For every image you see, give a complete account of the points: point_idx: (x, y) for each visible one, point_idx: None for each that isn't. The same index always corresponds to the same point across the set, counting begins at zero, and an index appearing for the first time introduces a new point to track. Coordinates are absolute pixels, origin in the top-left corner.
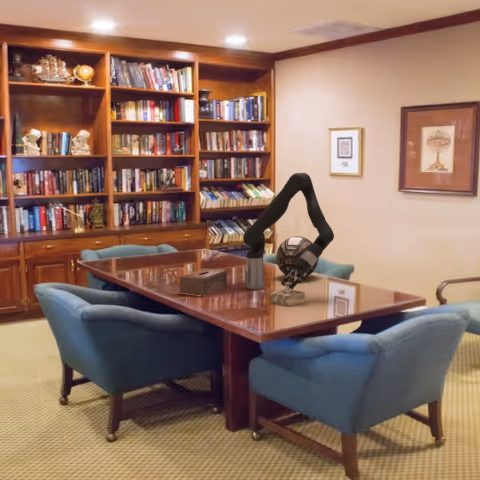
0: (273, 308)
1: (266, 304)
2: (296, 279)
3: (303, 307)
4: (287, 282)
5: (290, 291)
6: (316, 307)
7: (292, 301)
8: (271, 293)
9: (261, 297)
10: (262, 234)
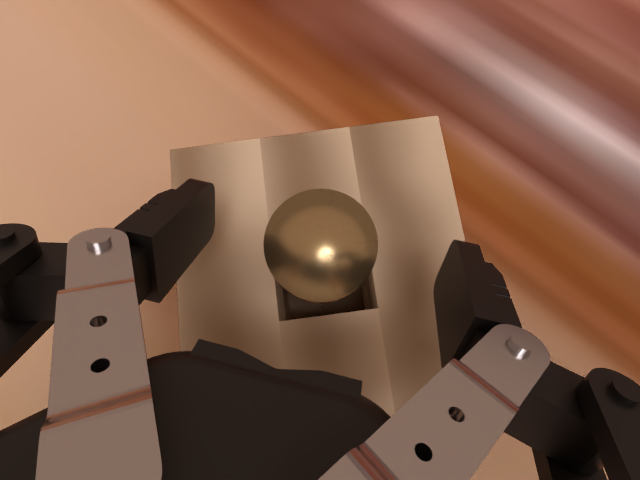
0: (255, 67)
1: (390, 104)
2: (70, 268)
3: None
4: (335, 252)
5: (340, 329)
6: None
7: None
8: (424, 119)
9: (633, 227)
10: None
